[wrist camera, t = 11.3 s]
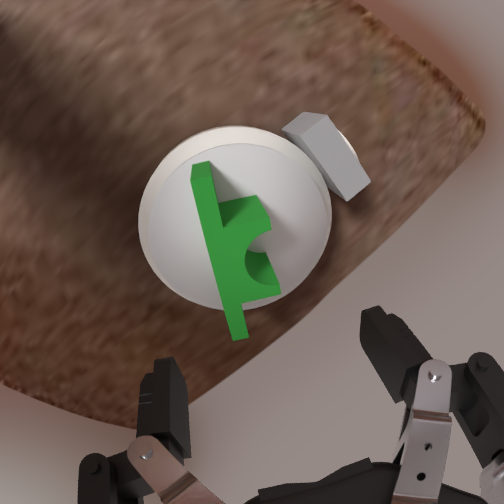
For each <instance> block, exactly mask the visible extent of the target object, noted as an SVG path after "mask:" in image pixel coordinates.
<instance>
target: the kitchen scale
mask: <svg viewBox="0 0 504 504" xmlns="http://www.w3.org/2000/svg"><path fill="white" fill-rule="evenodd" d="M281 130H282V132H283V133H284V134H285V135H286V137H287V138H288V139H289V140H290V142H289V141H288V140H286V139H284V138H282V137H280V136H277V135H275V134H273V133H271V132H268V131H266V130H263V129H259V128H256V127H251V126H243V125H226V126H219V127H214V128H210V129H207V130H203V131H201V132H199V133H196V134H194V135H192V136H190V137H189V138H187V139H185V140H184V141H182V142H181V143H179V144H178V145H177V146H176V147H175V148H173V149H172V150H171V151H170V152H169V153H168V154H167V155H166V156H165V158H164V159H163V160H162V161H161V163H160V164H159V166H158V167H157V169H156V170H155V172H154V173H153V175H152V176H151V178H150V180H149V182H148V184H147V186H146V188H145V190H144V193H143V196H142V199H141V203H140V209H139V215H138V229H139V237H140V242H141V246H142V249H143V252H144V254H145V257H146V259H147V261H148V263H149V265H150V266H151V268H152V269H153V271H154V272H155V274H156V275H157V276H158V277H159V278H160V280H161V281H162V282H163V283H164V284H165V285H167V286H168V287H169V288H170V289H171V290H173V291H174V292H175V293H177V294H178V295H180V296H182V297H184V298H185V299H187V300H189V301H192V302H194V303H197V304H200V305H203V306H206V307H209V308H213V309H219V310H224V308H223V305H222V301H221V298H220V294H219V291H218V287H217V283H216V280H215V276H214V272H213V269H212V265H211V261H210V257H209V254H208V250H207V246H206V242H205V238H204V235H203V231H202V227H201V223H200V219H199V215H198V211H197V207H196V203H195V199H194V195H193V190H192V186H191V182H190V177H191V169H192V164H196V163H200V162H205V161H209V163H210V167H211V172H212V177H213V181H214V186H215V190H216V195H217V200H218V203H220V202H224V201H229V200H233V199H238V198H243V197H247V196H252V195H256V196H257V197H258V199H259V200H260V202H261V204H262V205H263V207H264V209H265V210H266V212H267V214H268V216H269V217H270V222H271V228H272V230H270V231H267V232H264V233H262V234H261V235H259V236H258V237H256V238H255V239H254V240H253V241H252V242H251V244H250V245H249V247H248V248H247V250H249V251H252V252H257V253H263V252H266V254H267V256H268V258H269V261H270V263H271V265H272V267H273V270H274V272H275V274H276V277H277V279H278V281H279V284H280V289H281V294H280V295H276V296H272V297H268V298H263V299H259V300H255V301H251V302H246V303H242V309H243V310H247V309H253V308H257V307H261V306H264V305H267V304H269V303H272V302H274V301H276V300H278V299H280V298H282V297H284V296H285V295H287V294H288V293H290V292H291V291H293V290H294V289H295V288H296V287H297V286H298V285H300V284H301V283H302V282H303V280H304V279H305V278H306V277H307V276H308V275H309V273H310V272H311V271H312V270H313V268H314V267H315V265H316V264H317V263H318V261H319V259H320V257H321V255H322V254H323V252H324V249H325V247H326V244H327V241H328V238H329V234H330V229H331V221H332V208H331V201H330V195H329V192H328V189H327V187H328V188H329V189H330V190H332V191H333V192H335V193H336V194H337V195H339V196H340V197H341V198H343V199H344V200H345V201H347V202H348V201H349V200H350V199H351V198H352V197H354V196H355V195H356V194H357V193H358V192H360V191H361V190H362V189H363V188H364V187H366V186H367V185H368V184H369V183H370V182H371V181H370V179H369V177H368V176H367V174H366V173H365V171H364V169H363V168H362V166H361V165H360V163H359V160H358V157H357V155H356V153H355V151H354V149H353V148H352V146H351V145H350V143H349V142H348V141H347V139H346V138H345V137H344V136H343V135H342V134H341V133H340V132H339V131H338V130H337V128H336V127H335V126H334V124H333V123H332V121H331V120H330V119H329V117H328V116H327V115H324V114H317V113H309V112H303V113H301V114H300V115H299V116H297V117H296V118H295V119H294V120H292V121H291V122H290V123H289V124H287V125H286V126H285V127H283V128H282V129H281Z"/></svg>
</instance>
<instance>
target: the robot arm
mask: <svg viewBox="0 0 504 504" xmlns="http://www.w3.org/2000/svg"><path fill="white" fill-rule="evenodd" d="M360 342H361V345H362V348H363V350H364V351H365V353H366V355H367V356H368V358H369V360H370V361H371V363H372V365H373V366H374V368H375V370H376V371H377V373H378V374H379V376H380V378H381V380H382V381H383V383H384V385H385V387H386V388H387V390H388V392H389V393H390V395H391V397H392V399H393V400H394V402H395V403H398V402H400V401H403V400H404V402H405V403H406V408H405V412H404V416H403V421H402V425H401V429H400V433H399V437H398V441H397V444H396V447H395V450H394V453H393V456H392V458H391V461H390V463H389V462H373V463H371V461H370V459H369V457H368V458H366V459H363V460H360V461H358V462H355V463H352V464H350V465H347V466H344V467H342V468H340V469H339V470H337V471H335V472H334V473H332V474H330V475H328V476H327V477H325V478H323V479H322V480H320V481H317V482H311V483H286V484H282V485H277V486H273V487H268V488H263V489H259V490H258V493H259V495H258V496H256V497H254V498H252V499H250V500H248V501H247V502H246V503H244V504H504V372H503V370H502V369H501V367H500V366H499V365H498V363H497V362H496V361H495V359H494V358H493V357H492V356H491V355H489V354H487V353H484V352H478V353H474V354H473V355H472V356H471V357H470V358H469V360H468V362H467V363H463V364H457V365H448V364H446V363H445V362H443V361H441V360H437V359H433V358H432V357H431V356H430V354H429V353H428V352H427V350H426V349H425V348H424V346H423V345H422V344H421V343H420V341H419V340H418V339H417V338H416V336H415V335H413V332H412V331H411V330H410V329H409V328H408V326H407V325H406V324H405V322H404V321H403V320H402V319H401V318H399V317H397V316H396V315H394V314H388V315H387V314H386V313H385V312H384V311H383V309H382V308H381V307H380V306H375V307H372V308H369V309H365V310H363V311H362V313H361V324H360ZM449 412H453V414H454V416H455V417H456V419H457V421H458V423H459V424H460V426H461V428H462V430H463V432H464V433H465V436H466V437H467V439H468V441H469V443H470V445H471V446H472V449H473V451H474V452H475V454H476V456H477V458H478V460H479V462H480V464H481V466H482V468H483V470H482V472H481V475H480V488H481V496H480V497H479V496H477V495H474V494H471V493H468V492H465V491H462V490H459V489H457V488H454V487H451V486H449V485H446V484H443V483H442V479H443V474H444V469H445V464H446V458H447V453H448V447H449V440H450V433H451V426H452V418H451V417H449ZM184 458H191V445H190V430H189V412H188V391H187V386H186V382H185V379H184V377H183V375H182V373H181V371H180V369H179V367H178V365H177V363H176V361H175V359H174V358H173V357H168V358H162V359H156V360H155V361H154V371H153V373H147V374H146V375H145V377H144V378H143V380H142V382H141V384H140V396H139V406H138V419H137V434H136V439H134V440H133V441H132V442H131V443H130V445H129V447H128V449H127V450H126V451H124V452H121V453H119V454H116V455H113V456H110V457H107V458H106V457H105V456H103V455H102V454H99V453H92V454H89V455H87V456H86V457H84V459H83V460H82V461H81V463H80V466H79V479H78V504H144V502H143V496H146V495H148V494H151V493H154V492H156V493H157V494H158V496H159V497H160V498H161V501H162V503H163V504H225V503H224V502H223V501H222V500H221V499H219V498H218V497H217V496H216V495H215V494H214V493H212V492H211V491H210V490H209V489H208V488H207V487H206V486H204V485H203V484H202V483H201V482H200V481H199V480H198V479H197V478H196V477H194V476H193V475H192V474H191V473H190V472H189V471H188V470H187V469H186V468H185V467H184V460H183V459H184Z"/></svg>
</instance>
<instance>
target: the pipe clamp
mask: <svg viewBox="0 0 504 504" xmlns="http://www.w3.org/2000/svg"><path fill="white" fill-rule="evenodd" d="M190 182H191V186H192V190H193V195H194V199H195V203H196V207H197V211H198V215H199V219H200V223H201V227H202V231H203V235H204V238H205V242H206V246H207V250H208V254H209V257H210V261H211V265H212V269H213V272H214V276H215V280H216V283H217V287H218V291H219V294H220V298H221V301H222V305H223V308H224V312H225V315H226V319H227V322H228V326H229V329H230V333H231V336H232V339H233V341H235V340H240V339H244V338H249V335H248V331H247V327H246V322H245V318H244V313H243V309H242V303H246V302H251V301H255V300H259V299H263V298H268V297H272V296H276V295H280V294H281V289H280V284H279V281H278V279H277V277H276V274H275V272H274V270H273V267H272V265H271V263H270V261H269V258H268V256H267V254H266V252H263V253H257V252H252V251H249V250H247V248H248V247H249V245H250V244H251V242H252V241H253V240H254V239H255V238H256V237H258V236H259V235H261V234H262V233H264V232H267V231H270V230H272V228H271V222H270V217H269V216H268V214H267V212H266V210H265V209H264V207H263V205H262V204H261V202H260V200H259V199H258V197H257V196H256V195H252V196H247V197H243V198H238V199H233V200H229V201H224V202H220V203H218V200H217V195H216V190H215V186H214V181H213V177H212V172H211V167H210V163H209V161H205V162H200V163H196V164H192V169H191V177H190Z"/></svg>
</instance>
